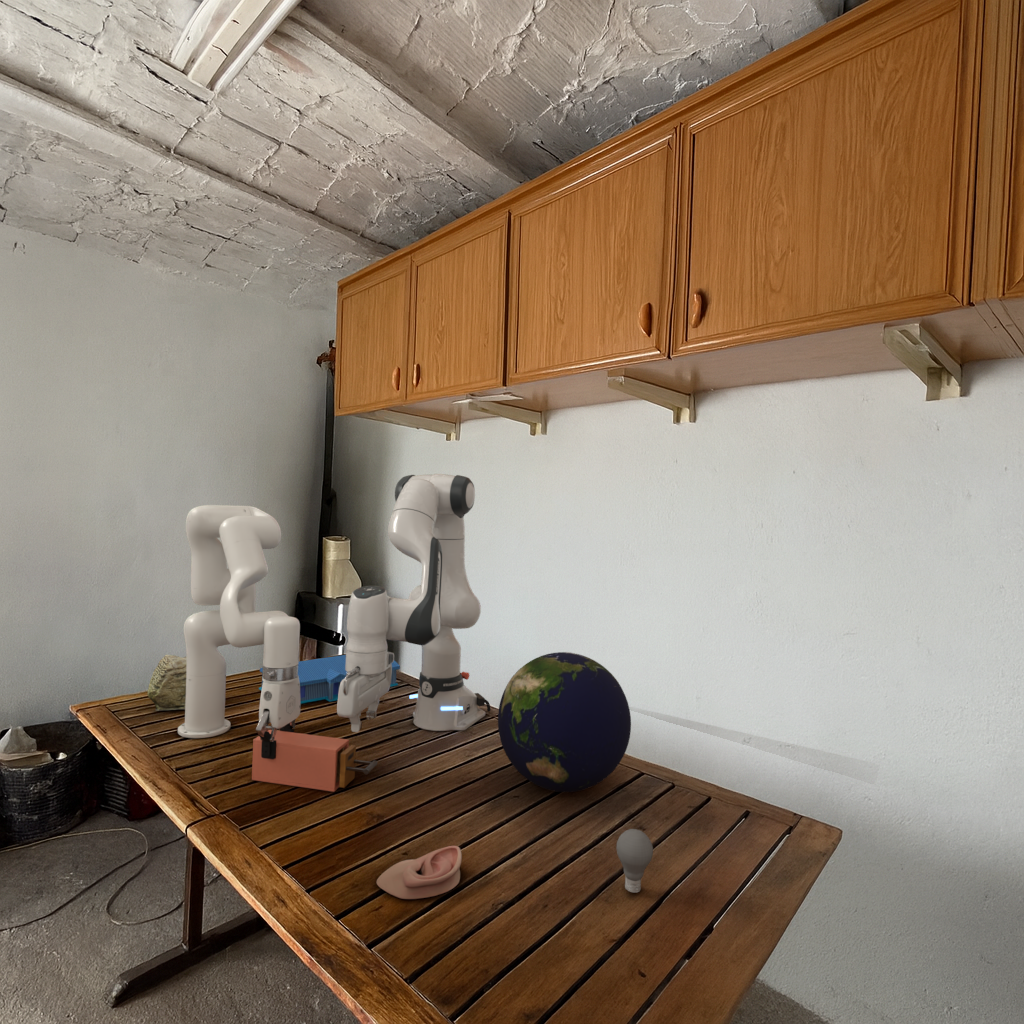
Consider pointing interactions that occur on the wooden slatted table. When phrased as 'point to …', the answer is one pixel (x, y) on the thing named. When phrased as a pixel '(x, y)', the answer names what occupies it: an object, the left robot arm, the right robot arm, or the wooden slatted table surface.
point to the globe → (564, 722)
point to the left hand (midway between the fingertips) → (277, 751)
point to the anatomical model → (423, 874)
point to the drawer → (350, 765)
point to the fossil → (169, 683)
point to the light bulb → (634, 857)
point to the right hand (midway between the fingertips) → (363, 724)
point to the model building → (325, 678)
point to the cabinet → (299, 761)
